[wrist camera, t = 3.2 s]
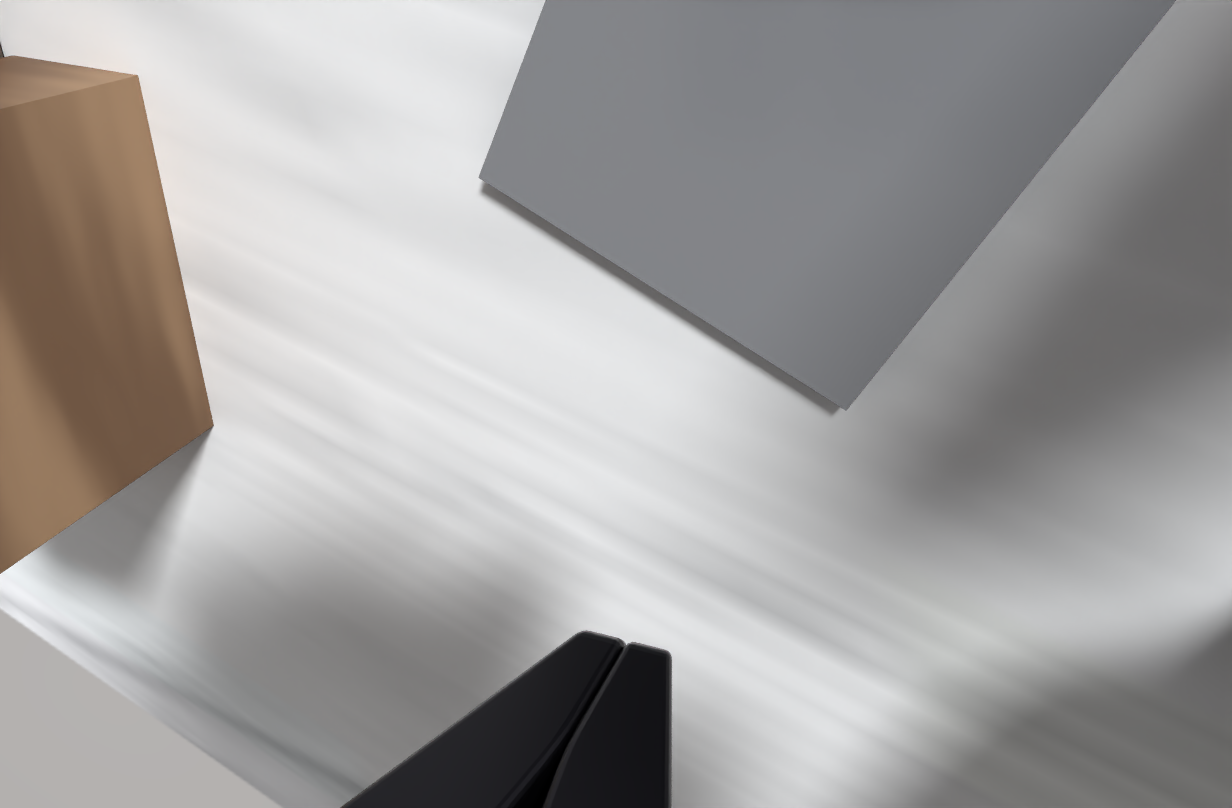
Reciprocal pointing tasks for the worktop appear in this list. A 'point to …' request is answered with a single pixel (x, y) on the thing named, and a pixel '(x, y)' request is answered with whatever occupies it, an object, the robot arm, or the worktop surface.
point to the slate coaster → (800, 151)
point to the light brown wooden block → (84, 302)
